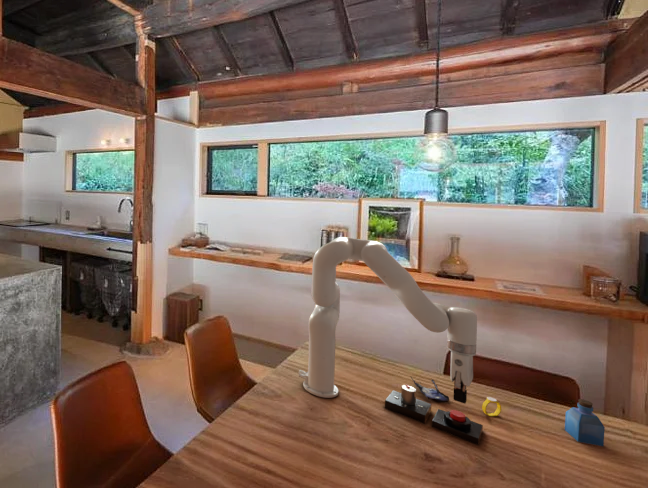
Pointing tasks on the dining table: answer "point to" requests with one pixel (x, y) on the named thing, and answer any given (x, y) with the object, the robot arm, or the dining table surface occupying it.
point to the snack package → (432, 392)
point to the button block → (458, 427)
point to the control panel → (408, 407)
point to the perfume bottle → (584, 424)
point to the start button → (457, 415)
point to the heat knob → (408, 395)
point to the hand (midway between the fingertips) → (459, 400)
